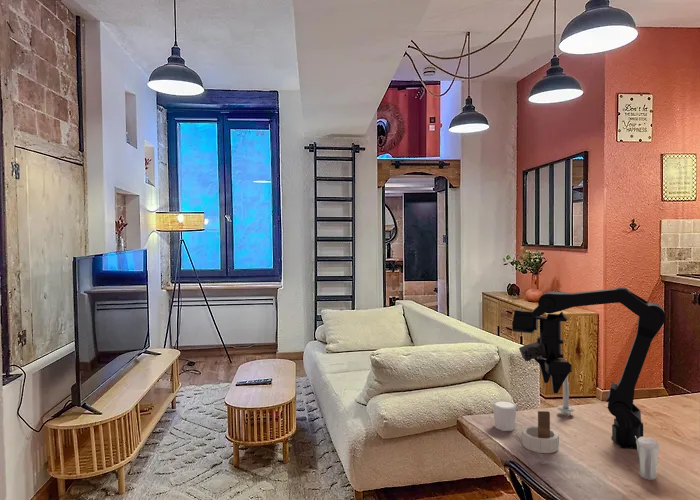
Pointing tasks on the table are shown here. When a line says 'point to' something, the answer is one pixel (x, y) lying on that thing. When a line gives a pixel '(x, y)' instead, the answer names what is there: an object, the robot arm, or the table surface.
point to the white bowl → (539, 440)
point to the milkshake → (647, 457)
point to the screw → (565, 400)
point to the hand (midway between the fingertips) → (550, 387)
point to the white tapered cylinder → (504, 415)
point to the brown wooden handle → (543, 424)
